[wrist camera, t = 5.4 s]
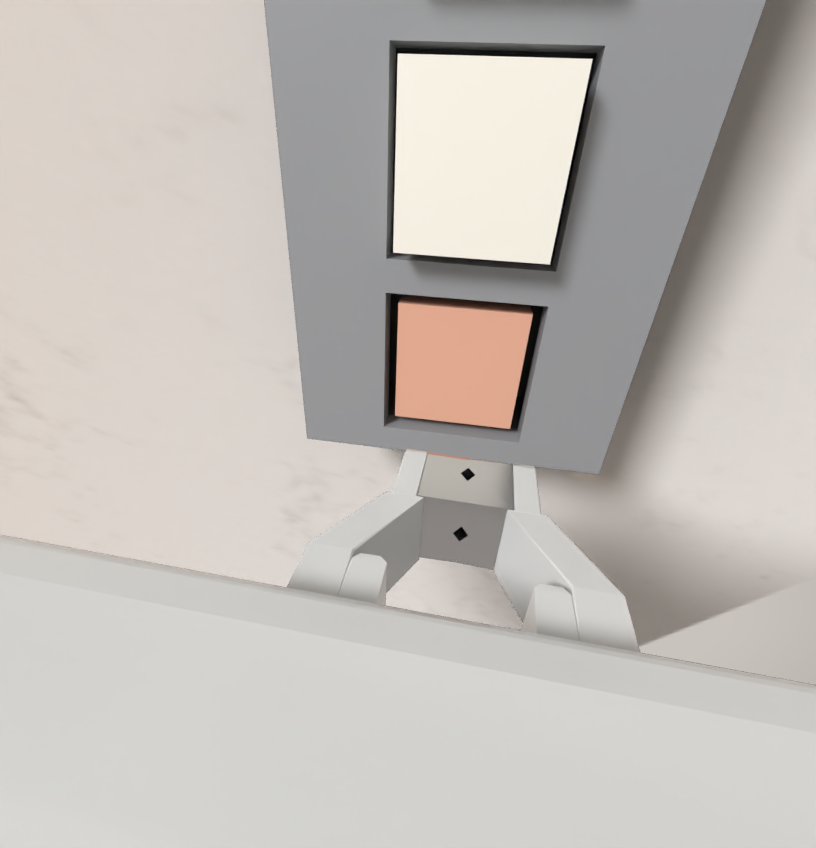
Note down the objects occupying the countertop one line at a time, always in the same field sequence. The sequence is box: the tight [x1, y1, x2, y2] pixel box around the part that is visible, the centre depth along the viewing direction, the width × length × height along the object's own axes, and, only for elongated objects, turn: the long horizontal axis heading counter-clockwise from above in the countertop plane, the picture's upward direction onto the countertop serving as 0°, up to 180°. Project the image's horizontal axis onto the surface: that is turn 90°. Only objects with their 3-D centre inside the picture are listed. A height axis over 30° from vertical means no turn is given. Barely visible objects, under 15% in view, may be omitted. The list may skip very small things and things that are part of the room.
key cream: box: [393, 54, 593, 265], centre depth 12 cm, size 5×5×2 cm
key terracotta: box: [395, 294, 533, 429], centre depth 17 cm, size 5×5×2 cm
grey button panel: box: [264, 0, 766, 474], centre depth 13 cm, size 12×27×5 cm, turn 177°
